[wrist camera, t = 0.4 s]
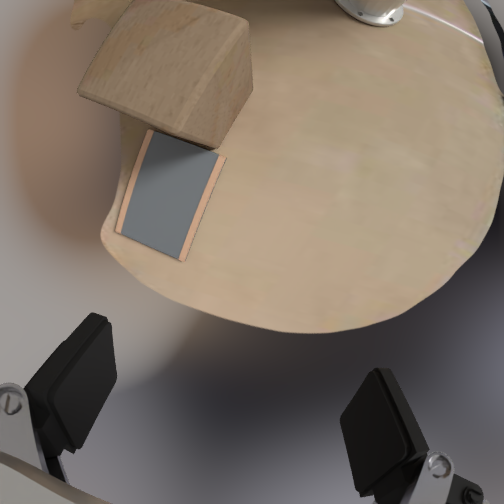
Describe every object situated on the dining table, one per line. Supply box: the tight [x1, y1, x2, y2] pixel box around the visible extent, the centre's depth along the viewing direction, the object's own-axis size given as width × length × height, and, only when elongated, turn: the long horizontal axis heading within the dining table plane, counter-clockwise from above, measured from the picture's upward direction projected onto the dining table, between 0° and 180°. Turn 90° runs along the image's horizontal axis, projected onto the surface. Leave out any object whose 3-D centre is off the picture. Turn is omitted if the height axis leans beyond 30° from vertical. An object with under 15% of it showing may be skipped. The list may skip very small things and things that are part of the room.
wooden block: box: [77, 0, 253, 148], centre depth 23 cm, size 10×10×20 cm
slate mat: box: [115, 129, 226, 262], centre depth 37 cm, size 16×12×1 cm
